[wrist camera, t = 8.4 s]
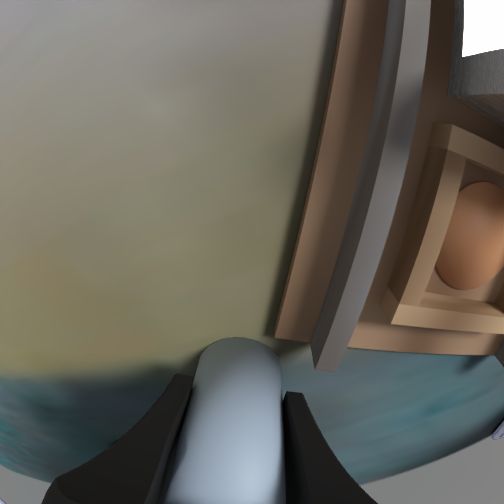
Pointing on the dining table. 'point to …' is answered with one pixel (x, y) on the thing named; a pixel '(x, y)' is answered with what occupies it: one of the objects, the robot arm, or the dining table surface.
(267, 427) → the light blue rounded cylinder
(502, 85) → the cover
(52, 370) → the dining table surface
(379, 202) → the wooden square tray
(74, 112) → the dining table surface
